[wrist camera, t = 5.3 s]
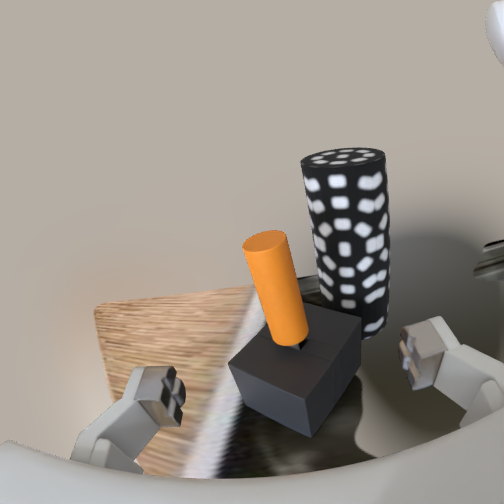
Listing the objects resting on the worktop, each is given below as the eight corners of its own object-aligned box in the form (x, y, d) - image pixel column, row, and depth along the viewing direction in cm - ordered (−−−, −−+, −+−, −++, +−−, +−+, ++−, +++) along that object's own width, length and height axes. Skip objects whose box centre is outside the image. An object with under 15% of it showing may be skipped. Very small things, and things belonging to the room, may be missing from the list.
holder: (299, 344, 35) (290, 298, 31) (360, 365, 29) (361, 317, 26) (245, 405, 28) (227, 363, 25) (311, 438, 23) (304, 400, 20)
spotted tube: (331, 295, 41) (312, 150, 32) (390, 298, 37) (385, 146, 28) (315, 337, 35) (288, 170, 26) (383, 343, 31) (383, 165, 22)
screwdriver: (300, 371, 31) (260, 228, 24) (326, 380, 29) (294, 231, 21) (284, 392, 29) (233, 249, 22) (309, 403, 27) (268, 254, 19)
